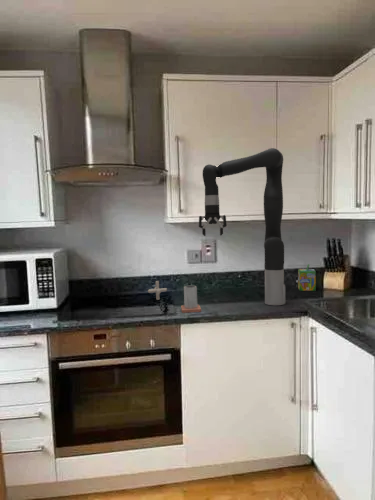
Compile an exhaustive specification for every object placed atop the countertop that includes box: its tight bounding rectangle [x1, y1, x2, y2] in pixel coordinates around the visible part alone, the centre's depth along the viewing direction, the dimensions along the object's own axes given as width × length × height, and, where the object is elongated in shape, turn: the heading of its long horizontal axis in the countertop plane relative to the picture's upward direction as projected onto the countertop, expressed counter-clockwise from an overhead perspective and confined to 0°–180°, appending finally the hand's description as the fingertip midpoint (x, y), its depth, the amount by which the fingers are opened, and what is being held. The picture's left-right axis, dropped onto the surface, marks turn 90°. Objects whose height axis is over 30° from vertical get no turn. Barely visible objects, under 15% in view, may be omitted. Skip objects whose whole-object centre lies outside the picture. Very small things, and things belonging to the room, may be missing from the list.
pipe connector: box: [147, 280, 168, 301], centre depth 203 cm, size 10×10×10 cm
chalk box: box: [297, 263, 317, 292], centre depth 215 cm, size 9×9×15 cm
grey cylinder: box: [183, 284, 198, 309], centre depth 178 cm, size 6×6×10 cm
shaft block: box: [180, 304, 202, 314], centre depth 178 cm, size 9×9×6 cm
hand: (212, 235), depth 194 cm, fingers open, 8 cm apart
